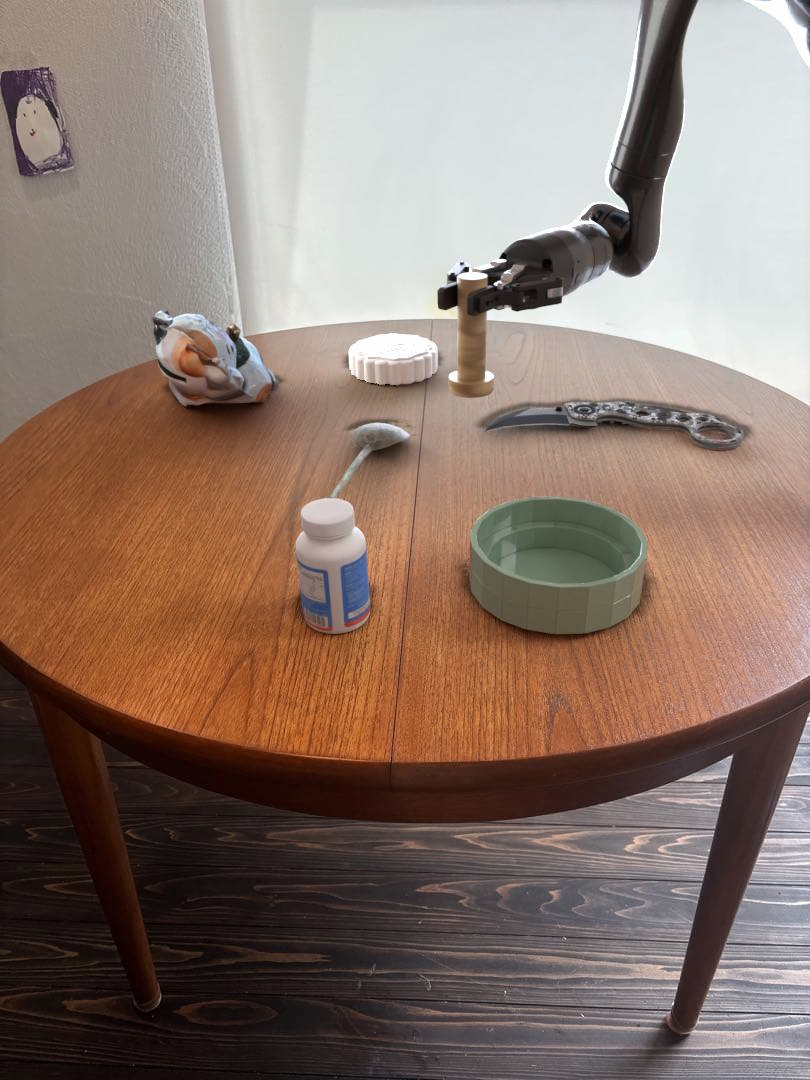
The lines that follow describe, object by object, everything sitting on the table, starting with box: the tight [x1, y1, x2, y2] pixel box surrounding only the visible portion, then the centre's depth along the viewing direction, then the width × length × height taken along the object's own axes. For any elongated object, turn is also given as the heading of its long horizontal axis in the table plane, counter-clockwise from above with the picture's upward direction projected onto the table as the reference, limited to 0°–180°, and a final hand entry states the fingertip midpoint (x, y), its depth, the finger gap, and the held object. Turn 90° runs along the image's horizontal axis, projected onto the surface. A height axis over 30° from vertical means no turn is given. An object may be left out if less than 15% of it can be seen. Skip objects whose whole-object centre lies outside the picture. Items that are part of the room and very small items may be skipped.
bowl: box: [468, 496, 649, 635], centre depth 71 cm, size 14×14×5 cm
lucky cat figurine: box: [151, 309, 279, 406], centre depth 106 cm, size 15×12×14 cm
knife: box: [483, 400, 745, 451], centre depth 99 cm, size 28×2×10 cm
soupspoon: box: [326, 422, 411, 499], centre depth 90 cm, size 22×3×7 cm
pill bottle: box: [295, 497, 371, 635], centre depth 67 cm, size 6×5×10 cm
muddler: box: [448, 272, 495, 399], centre depth 89 cm, size 5×5×12 cm
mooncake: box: [348, 332, 439, 386], centre depth 117 cm, size 12×12×4 cm
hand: (455, 302), depth 86 cm, fingers closed on muddler, 3 cm apart
